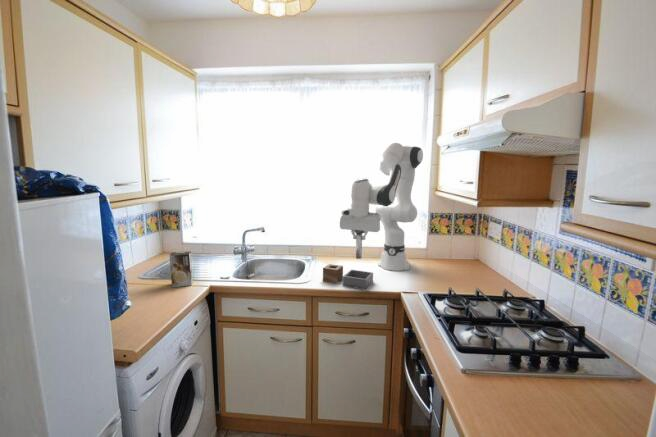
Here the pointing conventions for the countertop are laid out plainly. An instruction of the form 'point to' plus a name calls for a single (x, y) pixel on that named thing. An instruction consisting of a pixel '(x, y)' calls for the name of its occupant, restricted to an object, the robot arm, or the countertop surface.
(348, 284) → the charcoal tray
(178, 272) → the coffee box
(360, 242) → the steel pin
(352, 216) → the robot arm
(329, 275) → the walnut hitch block
